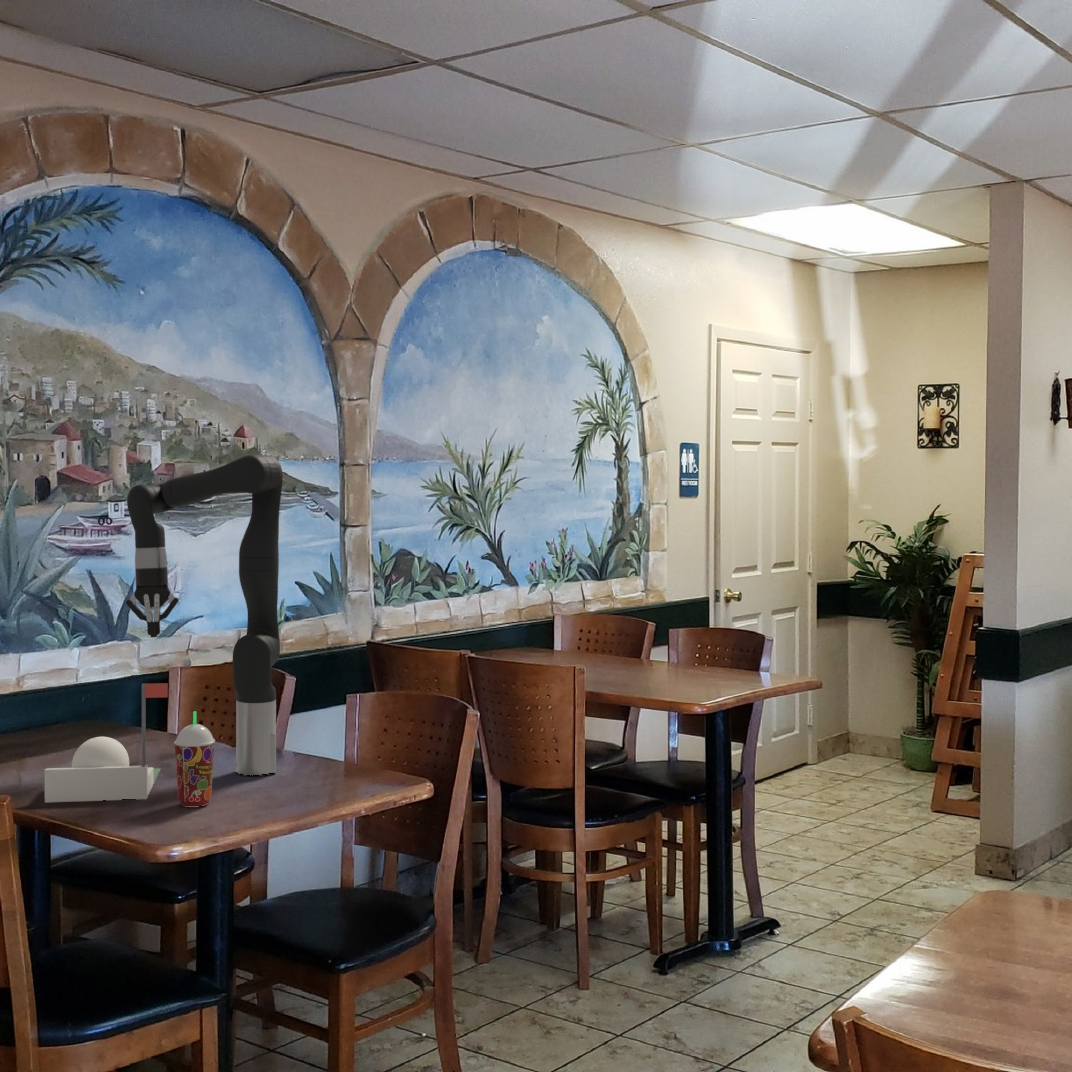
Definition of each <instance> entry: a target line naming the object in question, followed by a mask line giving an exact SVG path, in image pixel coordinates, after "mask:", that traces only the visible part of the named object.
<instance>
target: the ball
mask: <svg viewBox="0 0 1072 1072" xmlns="http://www.w3.org/2000/svg"><path fill="white" fill-rule="evenodd" d="M71 762H72V763H71V768H79V767H115V766H130V758H129V754H128V751H127V750H126V748H125V746H124V744H122V743H121V742H119V740H116V739H114V738H112V737H109V736H96V737H92V738H89V739H87V740H86V741H84V742H83V743H82V744H80V745H79V747H78V748H77V749H76V750H75V752H74V754H73V758H72V761H71Z"/></svg>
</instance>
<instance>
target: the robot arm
mask: <svg viewBox="0 0 1072 1072" xmlns="http://www.w3.org/2000/svg"><path fill="white" fill-rule="evenodd" d="M283 476H284V475H283V468H282V466H281V464H280V462H279V460H277V458H276V457H274V456H273V455H268V454H267V455H266V454H247V455H245V456H242V457H240V458H238V459H235V460H233V461H230V462H228V463H225V464H224V465H221V466H218V467H215V468H213V469H210V470H206V471H201V472H195V473H191V474H187V475H182V476H178V477H173V478H171V479H169V480H167V481H165V482H164V483H159V484H136V485H134V486H133V487H131V489H130V490H129V492H128V494H127V497H126V506H127V510H128V514H129V517H130V520H131V524H132V527H133V529H134V542H135V544H134V545H135V547H134V548H135V552H134V553H135V554H134V567H135V569H134V570H135V572H134V573H135V589H134V592H133V596H132V597H130V598H129V599H127V600H126V601H125V604H126V605H127V607H129V609H130V610H131V611H132V612H133V614H135V616H136V617H137V618H138V619H139V620H140V621H145V622H146V628H147V631H146V632H147V634H148V636H150V638H158V635H161V621H162V620H165V619H166V618H168V617H169V616H170V614H171V612H172V611H173V609H174V608H175V607H176V606H177V604H178V603H179V601H180V599H179V597H176V596H175V595H173V594H172V593H171V589H169V577H168V575H169V574H168V556H167V551H166V533H165V532H166V531H165V527H164V526H163V525H162V524H160V523H158V522H156V519H155V516H154V514H160V513H166V512H168V511H171V510H174V509H175V508H180V507H184V506H185V507H186V506H189V505H194V504H198V503H201V502H204V501H206V500H209V499H211V498H213V497H215V496H219V495H223V494H234V493H235V494H236V493H240V494H241V493H244V494H245V493H247V494H251V512H250V513H251V514H250V518H249V522H248V524H247V527H246V529H245V531H244V534H243V537H242V539H241V542H240V546H239V550H238V552H239V553H238V577H239V583H240V587H241V591H242V594H243V598H244V600H245V604H246V609H247V627H246V634H245V635H243V636H241V637H240V638H239V639H238V640H237V641H236V642H235V644H234V646H233V651H232V679H233V680H232V681H233V682H232V683H233V690H234V691H235V692H234V693H235V697H236V699H235V700H236V701H235V702H236V706H235V707H236V708H235V710H236V711H235V712H236V713H235V716H236V718H235V719H236V721H235V722H236V724H235V727H236V728H235V730H236V731H235V735H236V736H235V739H236V741H235V742H236V743H235V745H236V746H235V749H236V750H235V752H236V753H235V767H236V768H235V773H236V772H237V773H238V774H237V773H236V774H237V775H240V774H243V775H242V776H247V775H250V776H251V775H252V776H251V777H253V775H259V776H263V775H262V774H267V775H269V774H268V773H275V772H277V703H276V702H277V690H276V687H275V686H273V682H272V669H271V668H272V667H273V666H274V665H275V664H277V662H278V660H279V658H280V655H281V640H280V632H279V631H280V629H279V619H278V599H279V598H278V597H279V573H280V572H279V571H280V569H279V566H280V564H279V563H280V561H279V559H280V558H279V557H280V555H279V554H280V553H279V551H280V549H279V534H280V531H279V530H280V525H279V524H280V509H281V508H280V507H281V499H282V498H281V497H282V490H283V480H284V477H283ZM167 600H168V601H167ZM166 601H167V603H168V604H169V605H168V606H167V608H165V610H164V611H163V612H162V613H161V610H162V609H161V608H162V606H164V604H165V603H166ZM138 602H139V604H140V605H141V606H142V607H143V608H144V611H145V614H144V612H143V611H141V609H140V608H139V606H138ZM153 613H154V614H153ZM250 776H249V777H250Z"/></svg>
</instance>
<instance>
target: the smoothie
mask: <svg viewBox="0 0 1072 1072" xmlns="http://www.w3.org/2000/svg"><path fill="white" fill-rule="evenodd" d="M192 713H193V715H192V717H193V718H192V719H193V720H192V724H189V725H186V726H185V727H183V728H182V729H181V730H180V732H179V733H178V734H177V736H176V739H175V740H174V743H173V744H174V753H175V768H176V769H175V770H176V772H175V773H176V781H177V782H176V785H177V786H176V788H177V799H178V801H179V802H180V806H181V805H183V806H202V805H205V804H207V803H208V804H209V802H210V800H211V799H212V789H213V788H212V787H213V776H214V775H213V774H214V759H215V743H216V739H215V738H214V737H213V734H212V732H211V731H210V729H208V728H207V727H206V726H204V725H202V724H199V723H197V711H193V712H192ZM183 806H182V807H183Z"/></svg>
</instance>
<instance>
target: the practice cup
mask: <svg viewBox="0 0 1072 1072" xmlns="http://www.w3.org/2000/svg"><path fill="white" fill-rule="evenodd" d="M168 686H169V685H168V682H167V683H166V682H165V683H163V682H162V683H160V682H159V683H141V765H129V766H115V767H79V768H72V767H56V768H55V767H52V768H51V767H50V768H45V769H44V803H67V802H68V803H69V802H71V803H72V802H74V803H76V802H97V801H98V802H100V801H101V802H102V801H103V800H106V801H123V800H122V799H136V800H148V797H149V796H148V795H150V793H151V791H152V789H153V787H154V785H153V784H155V782H156V780H157V778H158V775H159V773H160V771H161V767H160V768H159V767H158V768H154V767H153V766H152V767H148V765H146V757H147V756H146V753H147V751H146V750H147V748H146V747H147V746H146V745H147V744H146V739H147V736H146V735H147V734H146V733H147V731H146V729H147V726H146V723H147V722H146V720H147V718H146V714H147V712H146V710H147V709H146V704H147V703H146V702H147V701H146V699H148V698H150V699H153V698H157V699H158V698H168V695H169V693H168V691H169V689H168V688H169V687H168Z"/></svg>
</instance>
